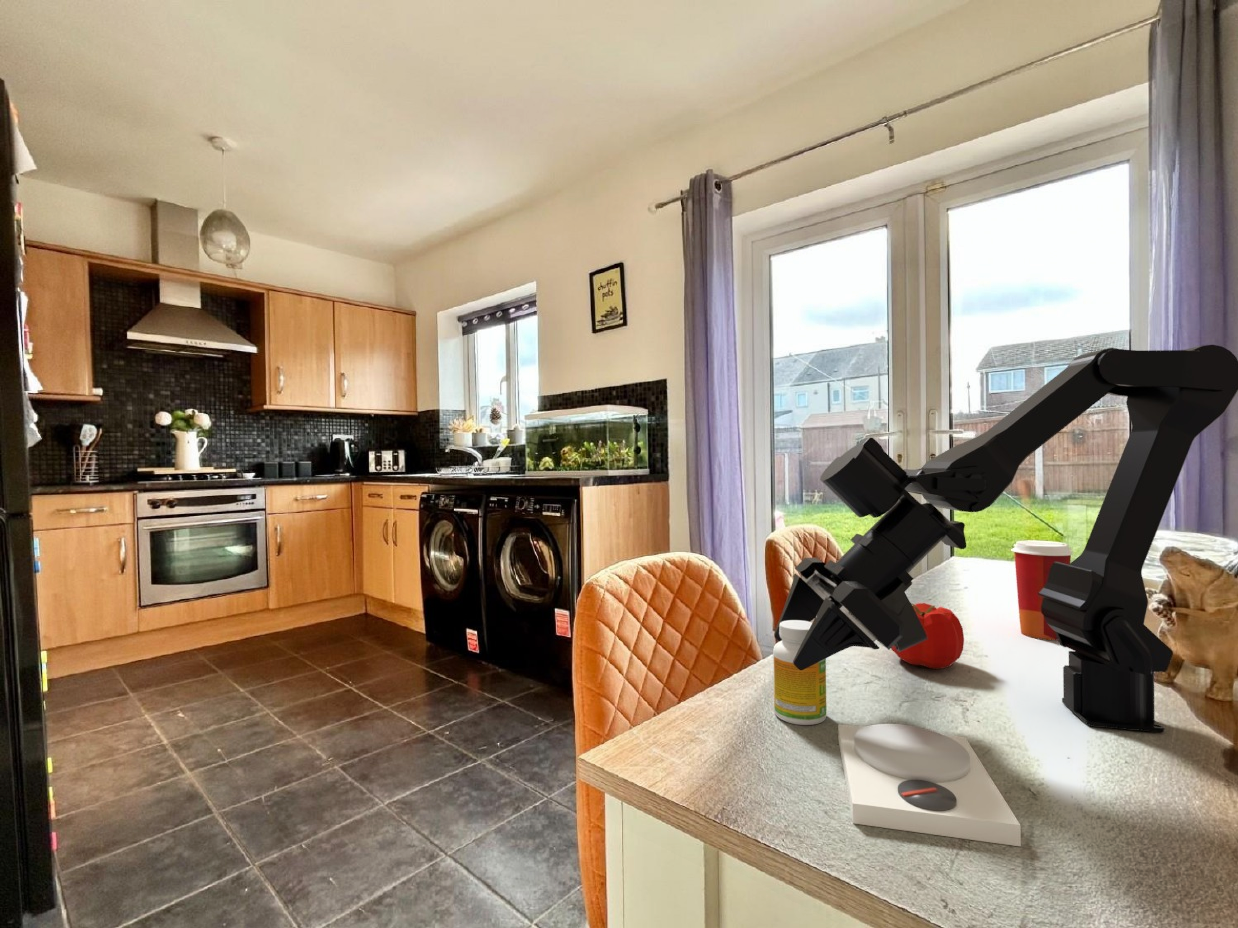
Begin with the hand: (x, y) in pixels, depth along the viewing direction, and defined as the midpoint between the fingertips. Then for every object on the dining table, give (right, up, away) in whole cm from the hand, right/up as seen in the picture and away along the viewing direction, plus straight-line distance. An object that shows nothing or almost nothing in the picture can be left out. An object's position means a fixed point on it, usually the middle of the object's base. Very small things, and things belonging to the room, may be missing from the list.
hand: (786, 652), depth 65 cm
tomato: (+22, -7, +16) cm, 28 cm away
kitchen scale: (+7, -7, -14) cm, 17 cm away
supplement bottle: (+1, -7, 0) cm, 7 cm away
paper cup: (+47, -6, +28) cm, 55 cm away
